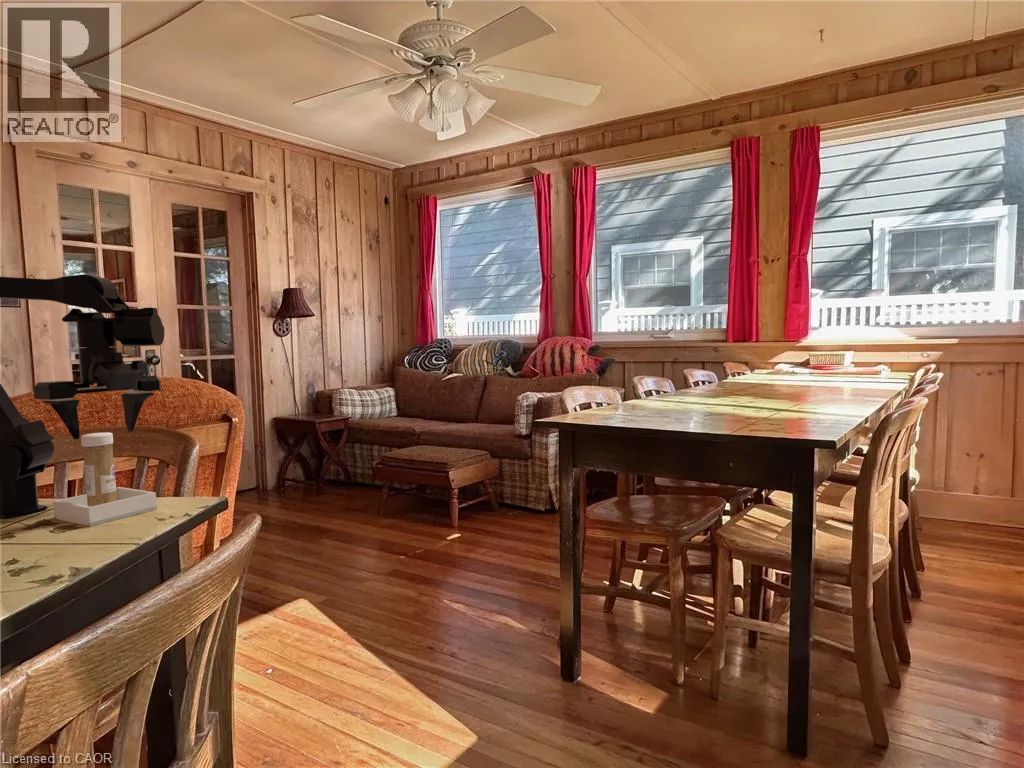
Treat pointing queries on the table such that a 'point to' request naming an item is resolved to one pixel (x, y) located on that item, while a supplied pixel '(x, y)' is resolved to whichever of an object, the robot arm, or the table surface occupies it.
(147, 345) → the robot arm
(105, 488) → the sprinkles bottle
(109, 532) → the table surface
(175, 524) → the table surface
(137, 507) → the grey bin
